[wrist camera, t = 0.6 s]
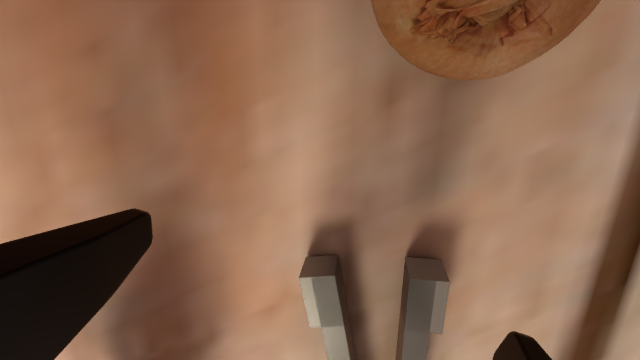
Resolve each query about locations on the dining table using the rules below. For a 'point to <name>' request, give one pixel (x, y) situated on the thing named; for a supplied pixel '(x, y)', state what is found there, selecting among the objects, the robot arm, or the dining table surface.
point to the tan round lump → (477, 32)
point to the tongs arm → (328, 305)
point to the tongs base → (421, 306)
